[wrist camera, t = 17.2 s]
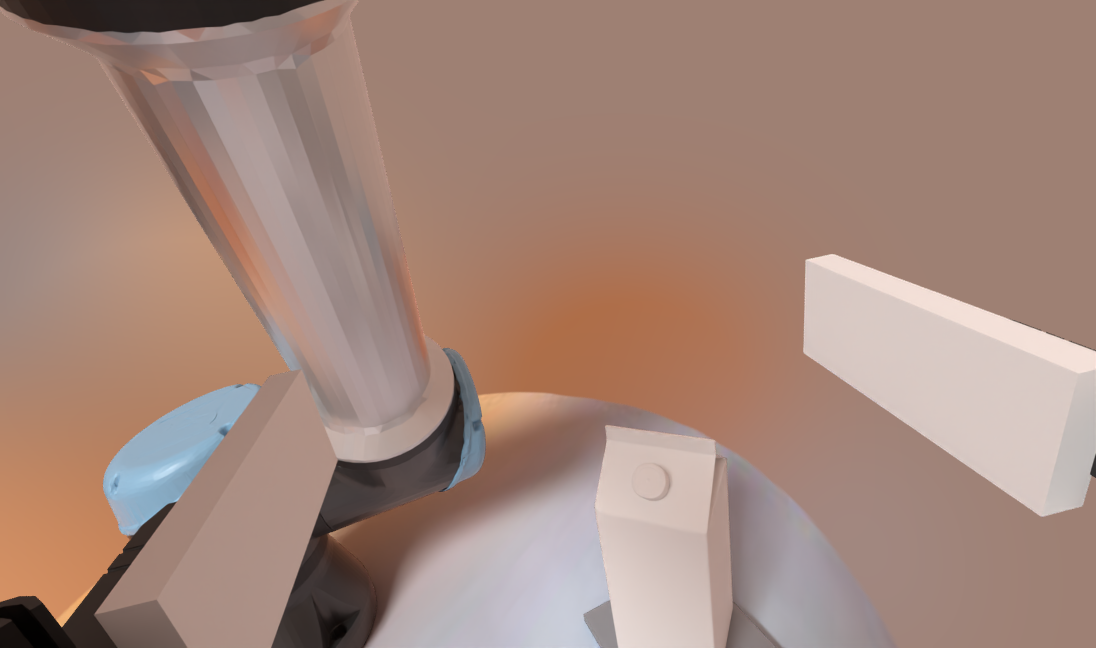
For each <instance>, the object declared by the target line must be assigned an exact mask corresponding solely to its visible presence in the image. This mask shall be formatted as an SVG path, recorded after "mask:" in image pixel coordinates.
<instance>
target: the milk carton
mask: <svg viewBox="0 0 1096 648" xmlns="http://www.w3.org/2000/svg"><path fill="white" fill-rule="evenodd" d="M605 430H606V437H607V441H606V447H605V452H604V457H603V463H602V468H601V474H600V479H599V484H598V490H597V495H596V501H595V507H594V508H595V514H596V520H597V526H598V532H599V538H600V544H601V550H602V556H603V562H604V567H605V573H606V579H607V585H608V591H609V597H610V603H611V609H612V614H613V620H614V626H615V632H616V638H617V644H618V648H726V642H727V637H728V632H729V626H730V621H731V615H732V610H733V599H732V576H731V552H730V529H729V505H728V482H727V458H724V457H722V456H719V455H717V454H716V445H715V440H714V439H706V438H699V437H691V436H684V435H677V434H669V433H662V432H654V431H647V430H639V429H632V428H625V427H617V426H610V425H606V426H605Z"/></svg>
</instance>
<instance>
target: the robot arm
mask: <svg viewBox="0 0 1096 648" xmlns="http://www.w3.org/2000/svg"><path fill="white" fill-rule="evenodd" d="M358 1H359V0H0V11H1V12H2V13H3V14H4V15H5V16H7V17H8V18H9V19H11V20H13V21H14V22H16V23H18V24H20V25H23V26H24V27H26V28H28V29H31V30H33V31H36V32H38V33H41V34H43V35H45V36H48V37H50V38H53V39H55V40H58V41H60V42H63V43H65V44H68V45H70V46H73V47H75V48H78V49H80V50H83V51H85V52H87V53H89V54H91V55H92V56H94V57H95V58H97V60H98V61H99V63H100V65H101V67H102V68H103V70H104V71H105V73H106V75H107V76H108V78H109V79H110V81H111V83H112V84H113V86H114V87H115V89H116V91H117V92H118V94H119V95H120V97H121V99H122V100H123V102H124V104H125V105H126V107H127V108H128V110H129V111H130V113H131V115H132V116H133V118H134V119H135V121H136V123H137V124H138V126H139V127H140V129H141V131H142V132H143V134H144V136H145V137H146V139H147V140H148V142H149V144H150V145H151V147H152V149H153V150H154V152H155V153H156V155H157V156H158V158H159V160H160V161H161V163H162V165H163V166H164V168H165V169H166V171H167V172H168V174H169V176H170V177H171V179H172V181H173V182H174V184H175V185H176V187H177V189H178V190H179V192H180V194H181V195H182V197H183V198H184V200H185V201H186V203H187V205H188V206H189V208H190V209H191V211H192V213H193V214H194V216H195V218H196V219H197V221H198V222H199V224H200V225H201V227H202V229H203V231H204V232H205V234H206V235H207V237H208V239H209V240H210V242H211V243H212V245H213V247H214V248H215V250H216V251H217V253H218V255H219V256H220V258H221V260H222V261H223V263H224V264H225V266H226V267H227V269H228V271H229V272H230V274H231V276H232V277H233V279H234V280H235V282H236V284H237V285H238V287H239V288H240V290H241V292H242V293H243V295H244V296H245V298H246V300H247V301H248V303H249V304H250V306H251V308H252V309H253V311H254V312H255V314H256V316H257V317H258V319H259V321H260V322H261V324H262V325H263V327H264V329H265V330H266V332H267V333H268V335H269V337H270V338H271V340H272V342H273V343H274V345H275V346H276V348H277V350H278V351H279V353H280V354H281V356H282V357H283V359H284V361H285V362H286V364H287V366H288V367H289V369H290V370H291V371H290V372H285V373H280V374H276V375H271V376H269V377H268V379H267V380H266V382H265V383H264V384H263V385H262V387H261V386H259V385H256V384H248V383H247V384H245V385H240V384H238V385H232V386H228V387H225V388H222V389H219V390H216V391H213V392H211V393H208V394H205V395H203V396H201V397H199V398H196V399H194V400H192V401H190V402H188V403H186V404H184V405H182V406H180V407H178V408H177V409H175V410H173V411H171V412H169V413H168V414H166V415H164V416H163V417H161V418H160V419H158V420H157V421H155V422H154V423H152V424H151V425H149V426H148V427H146V428H145V429H144V430H142V431H141V432H140V433H138V434H137V435H136V436H135V437H134V438H132V439H131V440H130V441H129V442H128V443H127V444H126V445H125V446H124V447H123V448H122V449H121V450H120V451H119V452H118V453H117V454H116V456H115V457H114V458H113V460H112V461H111V463H110V464H109V466H108V468H107V470H106V472H105V475H104V480H103V489H104V493H105V495H106V498H107V500H108V502H109V504H110V506H111V508H112V510H113V512H114V514H115V516H116V518H117V520H118V523H119V524H118V525H119V529H120V531H121V533H122V534H123V535H127V537H128V538H129V540H130V541H129V542H128V543H127V545H126V546H125V547H124V549H123V553H122V554H119V555H118V556H117V558H116V559H115V560H114V561H113V563H112V564H111V565H110V567H109V568H108V573H107V574H103V576H102V577H101V578H100V579H99V581H98V582H97V583H96V585H95V586H94V587H93V588H92V590H91V591H90V592H89V594H88V595H87V596H86V597H85V599H84V600H83V601H82V603H81V604H80V605H79V606H78V608H77V609H76V610H75V612H74V613H73V614H72V615H71V617H70V618H69V619H68V621H67V622H66V623H65V624H64V626H63V627H61V626H60V625H59V624H58V622H57V621H56V620H55V618H54V617H53V616H52V615H51V613H50V612H49V611H48V609H47V608H46V607H45V605H44V604H43V603H42V602H41V601H40V600H39V599H38V598H37V597H36V596H19V597H16V598H12V599H9V600H6V601H3V602H0V648H362V647H363V645H364V643H365V642H366V640H367V638H368V636H369V633H370V631H371V628H372V626H373V623H374V619H375V614H376V607H377V600H376V593H375V590H374V587H373V584H372V582H371V580H370V577H369V575H368V573H367V571H366V569H365V568H364V566H363V565H362V564H361V562H360V561H359V560H358V559H357V558H355V557H354V556H353V555H352V554H351V553H350V552H349V551H347V550H346V549H345V548H344V547H343V546H342V545H341V544H339V543H338V542H337V541H336V540H335V539H334V538H333V537H331V536H330V535H329V534H328V533H330V532H333V531H336V530H338V529H341V528H343V527H346V526H349V525H351V524H354V523H356V522H359V521H362V520H364V519H367V518H370V517H372V516H375V515H377V514H380V513H383V512H385V511H388V510H390V509H393V508H396V507H398V506H401V505H404V504H406V503H409V502H411V501H414V500H417V499H419V498H422V497H424V496H427V495H430V494H432V493H435V492H443V491H446V490H449V489H450V488H452V487H454V486H455V485H456V484H457V483H459V482H461V481H463V480H466V479H468V478H470V477H472V476H474V475H475V474H476V473H477V472H478V471H479V470H480V468H481V467H482V464H483V462H484V458H485V449H486V441H485V431H484V426H483V424H482V422H481V417H482V414H481V407H480V403H479V399H478V395H477V392H476V388H475V385H474V382H473V380H472V377H471V374H470V372H469V370H468V368H467V365H466V363H465V361H464V360H463V358H462V357H461V355H460V354H459V353H458V352H457V351H455V350H453V349H450V348H443V349H441V347H440V346H439V345H438V344H437V343H436V342H435V341H433V340H432V339H431V338H429V337H427V336H426V335H424V333H423V329H422V325H421V321H420V316H419V312H418V308H417V304H416V299H415V295H414V291H413V286H412V283H411V278H410V274H409V269H408V265H407V261H406V256H405V252H404V247H403V243H402V239H401V235H400V230H399V226H398V222H397V218H396V213H395V209H394V205H393V200H392V196H391V192H390V187H389V183H388V179H387V174H386V171H385V166H384V162H383V158H382V153H381V149H380V145H379V140H378V136H377V132H376V127H375V123H374V119H373V114H372V110H371V106H370V102H369V98H368V93H367V89H366V84H365V80H364V76H363V71H362V68H361V63H360V59H359V54H358V50H357V46H356V41H355V38H354V33H353V29H352V24H351V20H350V13H351V11H352V10H353V9H354V7H355V6H356V4H357V3H358ZM804 313H805V314H804V353H805V354H806V355H808V356H809V357H810V358H812V359H813V360H815V361H816V362H818V363H819V364H821V365H822V366H823V367H825V368H826V369H828V370H829V371H831V372H832V373H834V374H835V375H837V376H838V377H839V378H841V379H842V380H844V381H845V382H847V383H848V384H850V385H851V386H852V387H854V388H855V389H857V390H858V391H860V392H861V393H863V394H864V395H866V396H867V397H868V398H870V399H871V400H873V401H874V402H876V403H877V404H879V405H880V406H882V407H883V408H884V409H886V410H887V411H889V412H890V413H892V414H893V415H895V416H896V417H897V418H899V419H900V420H902V421H903V422H905V423H906V424H908V425H909V426H910V427H912V428H914V429H915V430H916V431H918V432H919V433H921V434H922V435H924V436H925V437H927V438H928V439H929V440H931V441H932V442H934V443H935V444H937V445H938V446H940V447H941V448H942V449H944V450H945V451H947V452H948V453H950V454H951V455H953V456H954V457H955V458H957V459H958V460H960V461H961V462H963V463H964V464H966V465H967V466H969V467H970V468H972V469H973V470H974V471H976V472H977V473H979V474H980V475H982V476H983V477H984V478H986V479H987V480H989V481H990V482H992V483H993V484H995V485H996V486H997V487H999V488H1000V489H1002V490H1003V491H1005V492H1006V493H1008V494H1009V495H1010V496H1012V497H1014V498H1015V499H1016V500H1018V501H1019V502H1021V503H1022V504H1024V505H1025V506H1026V507H1028V508H1029V509H1031V510H1033V511H1034V512H1035V513H1037V514H1038V515H1040V516H1041V517H1043V516H1047V515H1050V514H1055V513H1058V512H1062V511H1066V510H1069V509H1073V508H1077V507H1081V506H1083V503H1084V499H1085V496H1086V493H1087V489H1088V486H1089V482H1090V479H1091V476H1094V477H1095V478H1096V350H1094V349H1091V348H1088V347H1085V346H1082V345H1080V344H1077V343H1074V342H1072V341H1066V340H1064V338H1061V337H1058V336H1055V335H1053V334H1050V333H1047V332H1046V333H1045V332H1042V331H1041V330H1039V329H1036V328H1034V327H1031V326H1028V325H1026V324H1023V323H1020V322H1017V321H1015V320H1011V319H1007V318H1004V317H1002V316H999V315H996V314H994V313H991V312H988V311H985V310H983V309H980V308H977V307H975V306H972V305H969V304H967V303H964V302H961V301H958V300H955V299H953V298H950V297H948V296H945V295H942V294H940V293H937V292H934V291H931V290H928V289H926V288H923V287H921V286H918V285H915V284H913V283H910V282H907V281H904V280H902V279H899V278H896V277H894V276H891V275H888V274H886V273H883V272H880V271H877V270H875V269H872V268H869V267H867V266H864V265H861V264H858V263H856V262H853V261H850V260H848V259H845V258H842V257H840V256H837V255H834V254H831V255H826V256H821V257H817V258H812V259H808V260H806V272H805V312H804Z"/></svg>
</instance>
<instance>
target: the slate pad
mask: <svg viewBox="0 0 1096 648" xmlns="http://www.w3.org/2000/svg"><path fill="white" fill-rule="evenodd" d="M584 619H585V622H586V624H587V625H588V627H589V629H590V631H591V632H592V634H593V636H594V637H595V639H596V641H597V643H598V644H599V646H600V648H618V644H617V638H616V632H615V626H614V620H613V614H612V609H611V603H610V601H608V602H606V603H604V604H602V605H600V606H598V607H597V608H595V609H593V610H591V611H589V612H587V613H585V614H584ZM726 648H776V647H775V646H774V645H773V644H772V642H771V641H770V640H769V639H768V638H767V637H766V636H765V635H764V634H763V633H762V632H761V631H760V630H759V629H758V628H757V626H756V625H755V624H754V623H753V622H752V621H751V620H750V619H749V618H748V617H747V616H746V615H745V614H744V613H743V611H742V610H741V609H740V608H739V607H738V606H737V605H736V604H735V603H734V602H733V610H732V615H731V621H730V626H729V632H728V637H727V642H726Z"/></svg>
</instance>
